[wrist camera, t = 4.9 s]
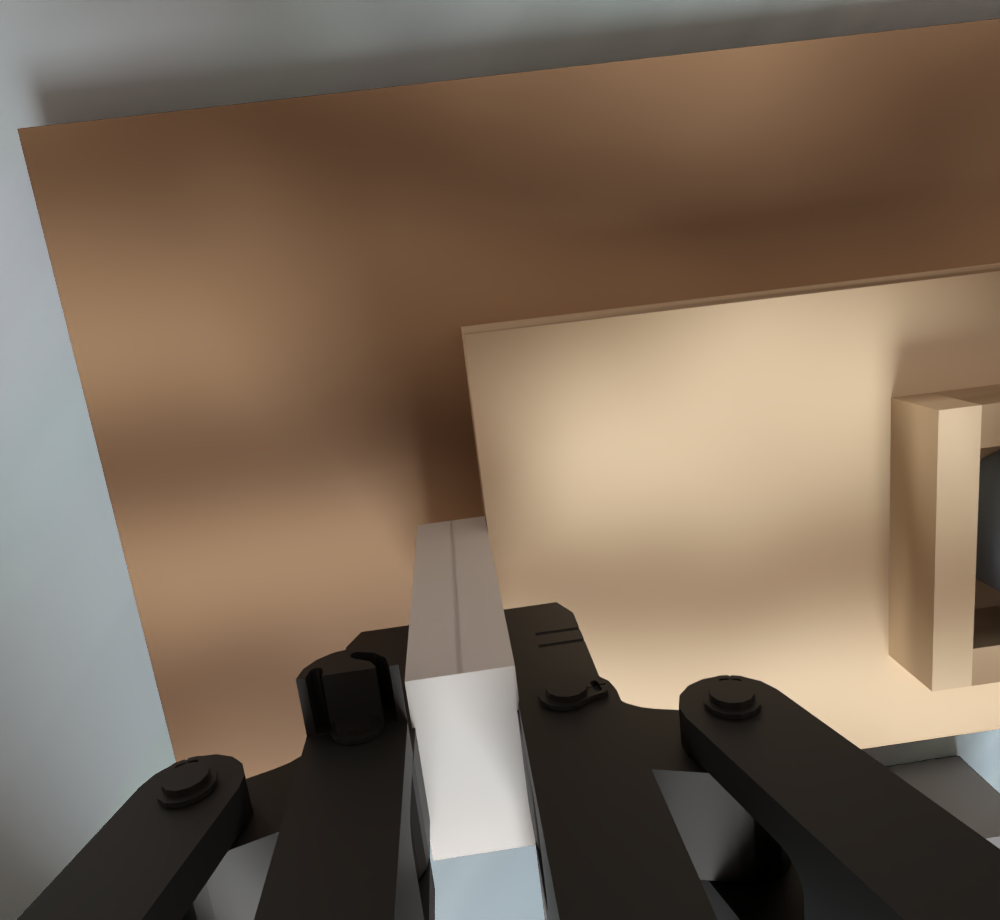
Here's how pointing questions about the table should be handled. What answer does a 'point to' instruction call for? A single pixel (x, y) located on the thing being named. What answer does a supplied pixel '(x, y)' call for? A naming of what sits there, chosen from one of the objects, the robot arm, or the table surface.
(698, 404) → the wooden block with recess
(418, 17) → the table surface
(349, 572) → the board
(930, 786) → the tray
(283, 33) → the table surface
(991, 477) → the dowel
